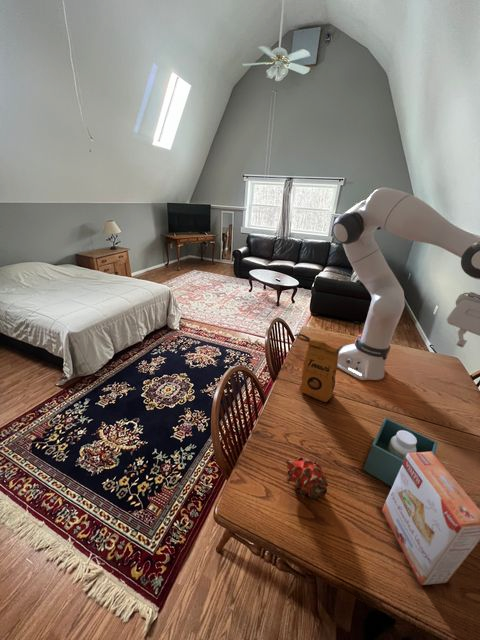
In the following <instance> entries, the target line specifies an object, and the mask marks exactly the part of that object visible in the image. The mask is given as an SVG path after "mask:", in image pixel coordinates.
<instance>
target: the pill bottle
mask: <svg viewBox="0 0 480 640" xmlns="http://www.w3.org/2000/svg"><path fill="white" fill-rule="evenodd" d="M416 443H417V439H416V438H415V436H414V435H413V434H411V433H409V432H407V431H404V430H400V431H398V432H397V434H396V436H394V437H392V438H391V440H390V443H389V446H388V448H387V452H389V453H391V454H393V455H395V456H397V457H398V458H400V459H402V460H405V457H406V455H407V453H416Z"/></svg>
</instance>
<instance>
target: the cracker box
mask: <svg viewBox="0 0 480 640" xmlns="http://www.w3.org/2000/svg"><path fill="white" fill-rule="evenodd" d="M381 512H382V514H383V515H384V518H385V519H386V521H387V523H388V525H389V527H390V529H391V532H392V533H393V534H394V536H395V539H396V540H397V542H398V544H399V547H400V548H401V550H402V553H403V554H404V557H405V558H406V560H407V562H408V563H409V566H410V567H411V569H412V571H413V573H414V575H415V577H416V579H417V581H418V583H419V585H420V586H427V585H428V586H429V585H437V584H438V585H439V584H447V583H448V581H450V579H451V578H452V576H453V575H454V574H455V573H456V572H457V571H458V569H459V568H460V566H462V564H463V563H464V561H465V560H466V559H467V558H468V556H469V555H470V554H471V552H472V551H473V550H474V548H475V547H476V546H477V545H478V543H479V542H480V508H479V507H478V506H477V505H476V503H475V502H474V501H473V500H472V499H471V497H470V496H469V495H468V494H467V493H466V491H465V490H464V489H463V488H462V486H461V485H460V484H459V483H458V481H457V480H455V478H454V477H453V476H452V475H451V474H450V472H449V471H448V470H447V468H446V467H445V466H444V465H443V464H442V462H440V460H439V459H438V458H437V456H436V454H435V455H434V454H433V453H432V452H417V453H407V455H406V457H405V460H404V462H403V464H402V466H401V469H400V471H399V473H398V475H397V477H396V480H395V482H394V484H393V486H392V487H391V489H390V491H389V492H388V495H387V497H386V500H385V502H384V504H383V507H382V509H381Z"/></svg>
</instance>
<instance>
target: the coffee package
mask: <svg viewBox="0 0 480 640" xmlns="http://www.w3.org/2000/svg"><path fill="white" fill-rule="evenodd" d="M308 341H309V342H308V346H307V350H306V352H305V353H306V354H305V357H304V360H303V367H302V374H301V381H300V385H299V388H298V391H299V392H300V393H303V394H305V395H307V396H309V397H311V398H314V399H316V400H318V401H320V402H324V403H328V401H330V399H331V398H332V397H333V394H334V390H335V387H336V373H337V369H338V368H337V365H338V362H337V361H338V355H339V347H336V346H334V345H332V344H329V343H327V342H324V341H319V340H315V339H312V338H310V340H308Z"/></svg>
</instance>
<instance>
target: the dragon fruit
mask: <svg viewBox="0 0 480 640" xmlns="http://www.w3.org/2000/svg"><path fill="white" fill-rule="evenodd" d="M285 463H286V464H287V465H286V468H287V474H288V476H289V477H286V484H287V485H289V483H290V482H292V483H295V486H296V487H295V491H296V492H297V493H300V496H301V497H302V498H305V497H306V495H308V497H309V499H310V500H312V501H316V499H317V498H319V499H320V498H322V497H324V496H326V494H327V493H328V486H329V483H328V480H327V476H326V475H325V474H324V473H323V469H322V467H321V465H320V464H319V463H318V462H315V461H314V460H313V461H312V460H310V459H308V458H306V457H304V456H300V457H299V458H295V459H290V460H286V461H285Z"/></svg>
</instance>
